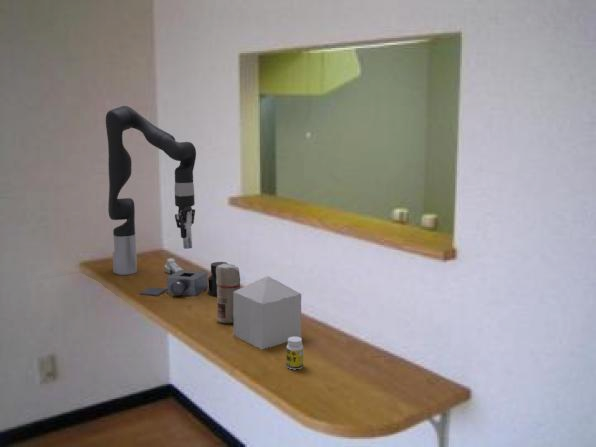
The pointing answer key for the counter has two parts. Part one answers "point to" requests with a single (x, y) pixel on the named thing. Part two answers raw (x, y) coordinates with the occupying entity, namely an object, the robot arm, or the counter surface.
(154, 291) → the key rest mat
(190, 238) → the grey metal cylinder
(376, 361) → the counter surface
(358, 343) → the counter surface
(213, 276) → the ink bottle
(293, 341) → the supplement bottle
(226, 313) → the spray can
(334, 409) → the counter surface
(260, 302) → the decorative block
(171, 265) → the white elongated piece
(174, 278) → the block
